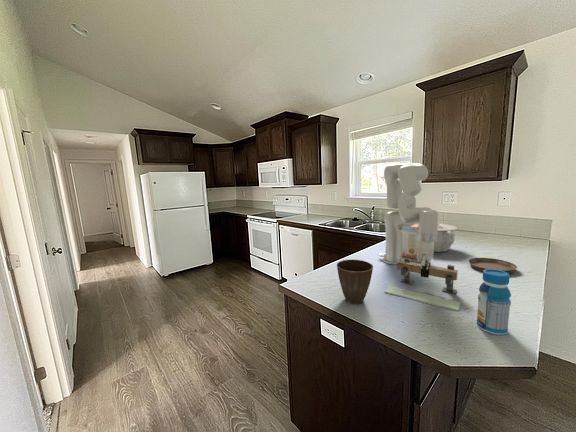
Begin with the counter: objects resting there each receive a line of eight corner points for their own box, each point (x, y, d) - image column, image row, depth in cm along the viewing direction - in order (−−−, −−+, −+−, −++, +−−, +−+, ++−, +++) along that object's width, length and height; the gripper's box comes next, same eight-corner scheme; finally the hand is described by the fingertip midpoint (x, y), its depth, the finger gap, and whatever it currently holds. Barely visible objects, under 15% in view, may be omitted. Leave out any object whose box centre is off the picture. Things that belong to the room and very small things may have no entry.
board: (384, 292, 113) (384, 291, 113) (389, 287, 119) (389, 286, 118) (458, 311, 95) (458, 309, 95) (460, 303, 101) (460, 302, 101)
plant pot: (378, 298, 108) (378, 263, 106) (363, 313, 97) (363, 274, 95) (347, 289, 118) (347, 257, 116) (330, 301, 107) (330, 266, 105)
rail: (397, 269, 120) (397, 262, 120) (399, 266, 123) (399, 260, 123) (456, 280, 105) (456, 272, 105) (457, 277, 108) (457, 270, 107)
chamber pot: (415, 243, 194) (415, 217, 191) (457, 247, 178) (459, 218, 175) (408, 252, 172) (409, 222, 169) (455, 258, 155) (457, 225, 153)
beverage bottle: (498, 338, 79) (504, 279, 76) (470, 325, 86) (474, 270, 83) (513, 331, 82) (519, 274, 79) (485, 319, 90) (489, 266, 87)
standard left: (397, 285, 120) (397, 262, 118) (402, 279, 126) (403, 257, 125) (408, 288, 116) (409, 264, 115) (413, 281, 123) (414, 258, 121)
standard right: (440, 295, 108) (441, 269, 106) (443, 288, 115) (445, 263, 113) (454, 298, 105) (455, 271, 103) (456, 291, 112) (458, 265, 110)
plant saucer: (472, 273, 131) (473, 267, 131) (464, 261, 150) (464, 255, 149) (523, 278, 122) (524, 272, 122) (508, 264, 141) (508, 259, 140)
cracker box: (420, 257, 160) (421, 225, 157) (416, 259, 156) (417, 226, 153) (399, 252, 171) (399, 223, 168) (394, 254, 167) (395, 224, 164)
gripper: (422, 232, 120) (420, 268, 123) (413, 240, 108) (412, 279, 110) (440, 234, 115) (438, 271, 118) (433, 242, 103) (431, 283, 106)
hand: (425, 275), depth 114 cm, fingers closed on rail, 3 cm apart
